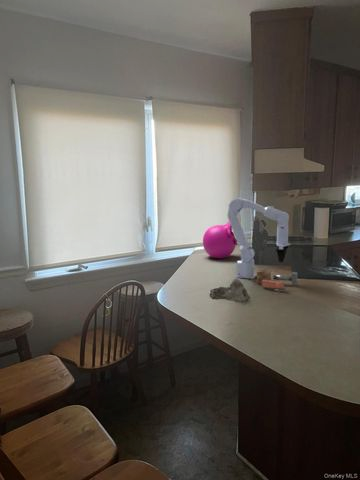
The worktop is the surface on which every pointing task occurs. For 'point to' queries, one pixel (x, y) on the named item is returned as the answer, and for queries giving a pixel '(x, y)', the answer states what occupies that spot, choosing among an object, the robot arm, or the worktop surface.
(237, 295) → the rock
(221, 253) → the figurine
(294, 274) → the bolt
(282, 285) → the latch lever
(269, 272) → the eye block
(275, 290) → the lever base
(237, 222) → the robot arm
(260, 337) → the worktop surface
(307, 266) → the worktop surface
